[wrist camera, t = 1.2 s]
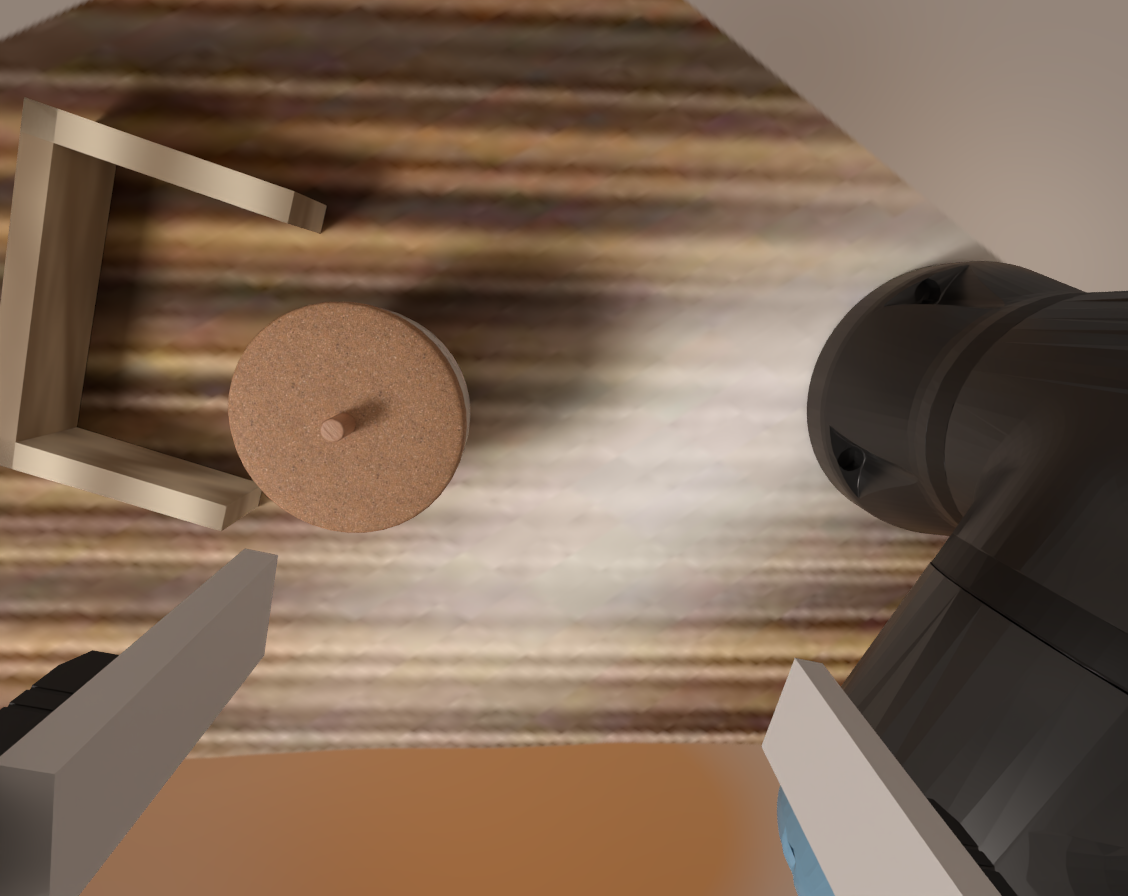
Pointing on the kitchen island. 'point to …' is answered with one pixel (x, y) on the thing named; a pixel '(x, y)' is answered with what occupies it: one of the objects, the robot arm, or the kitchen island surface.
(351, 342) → the lidded jar
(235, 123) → the kitchen island surface
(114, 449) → the birch dock
